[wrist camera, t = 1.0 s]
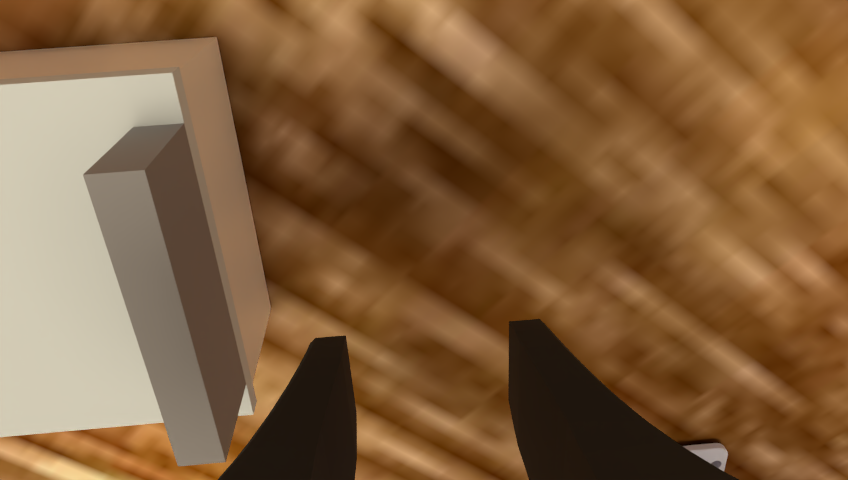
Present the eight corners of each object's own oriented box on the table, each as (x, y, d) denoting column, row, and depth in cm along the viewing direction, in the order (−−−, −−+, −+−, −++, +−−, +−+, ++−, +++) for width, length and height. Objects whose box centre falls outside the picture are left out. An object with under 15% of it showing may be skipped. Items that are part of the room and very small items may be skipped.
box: (216, 36, 20) (176, 72, 16) (271, 308, 24) (250, 390, 20) (-187, 64, 19) (-337, 108, 15) (-53, 335, 24) (-140, 424, 20)
